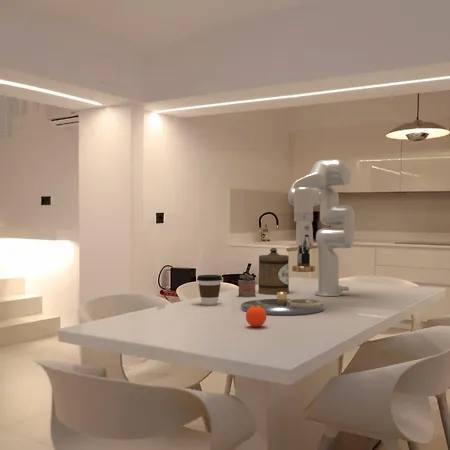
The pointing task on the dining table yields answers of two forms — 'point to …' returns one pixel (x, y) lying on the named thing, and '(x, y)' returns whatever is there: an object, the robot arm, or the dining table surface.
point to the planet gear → (302, 266)
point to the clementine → (256, 316)
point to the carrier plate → (285, 306)
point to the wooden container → (273, 273)
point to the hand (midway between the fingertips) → (303, 262)
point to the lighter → (246, 286)
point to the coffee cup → (209, 288)
